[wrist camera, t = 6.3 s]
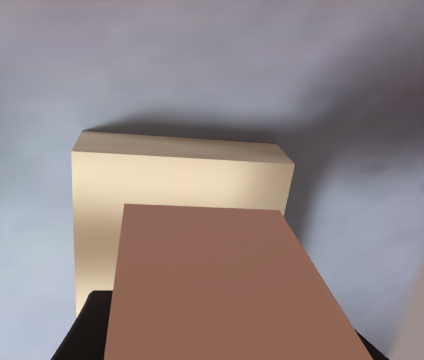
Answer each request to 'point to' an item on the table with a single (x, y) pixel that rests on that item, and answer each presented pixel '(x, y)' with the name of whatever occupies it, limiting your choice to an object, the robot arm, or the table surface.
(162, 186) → the birch block
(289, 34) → the table surface
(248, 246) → the terracotta block
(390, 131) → the table surface
